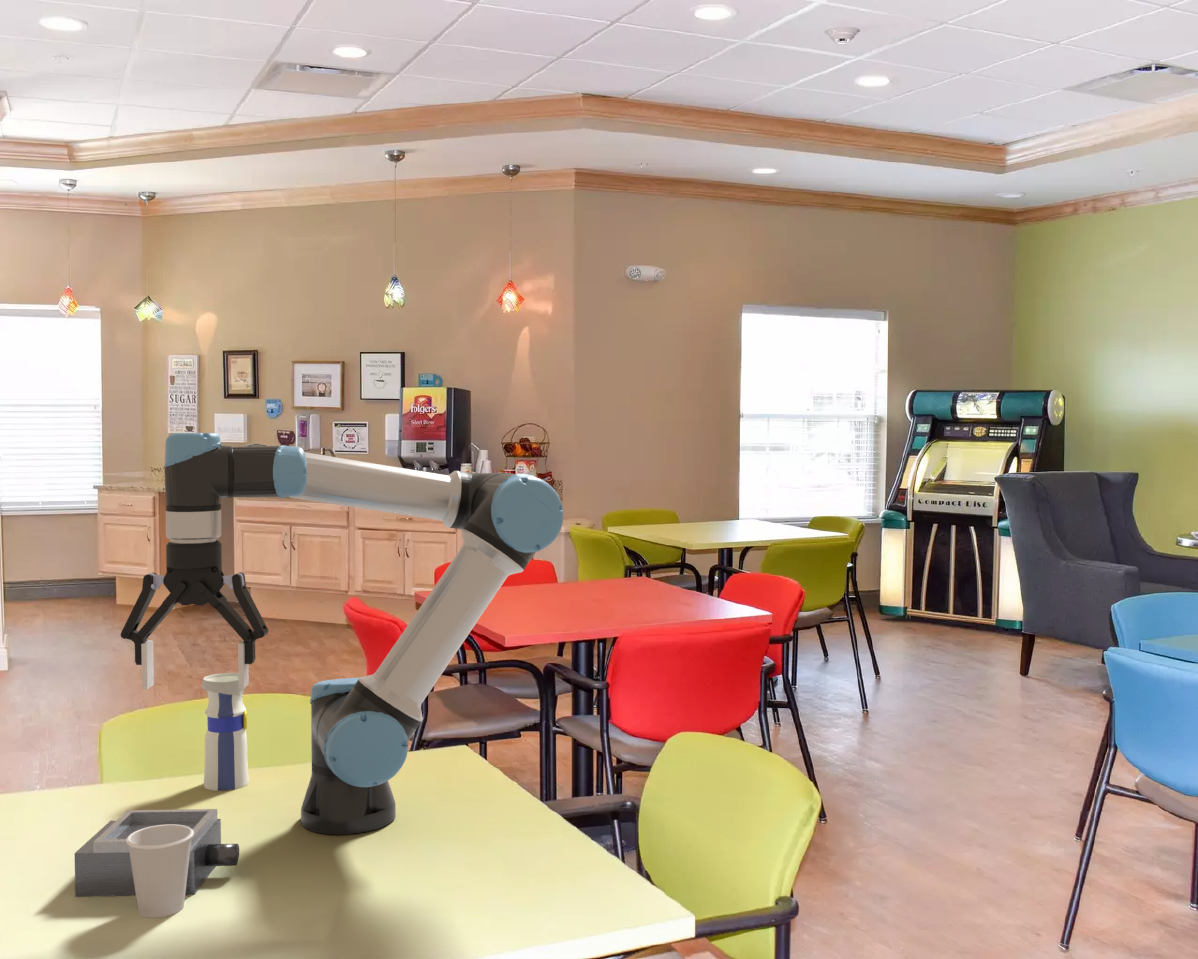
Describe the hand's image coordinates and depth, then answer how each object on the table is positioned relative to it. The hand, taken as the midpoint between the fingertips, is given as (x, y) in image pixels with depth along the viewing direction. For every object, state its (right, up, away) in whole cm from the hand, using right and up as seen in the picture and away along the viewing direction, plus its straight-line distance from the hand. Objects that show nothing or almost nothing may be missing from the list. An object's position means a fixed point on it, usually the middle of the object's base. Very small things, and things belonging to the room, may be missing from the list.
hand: (195, 687), depth 164 cm
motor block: (-4, -27, -2) cm, 27 cm away
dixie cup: (0, -27, -13) cm, 30 cm away
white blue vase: (-9, -25, +41) cm, 49 cm away
